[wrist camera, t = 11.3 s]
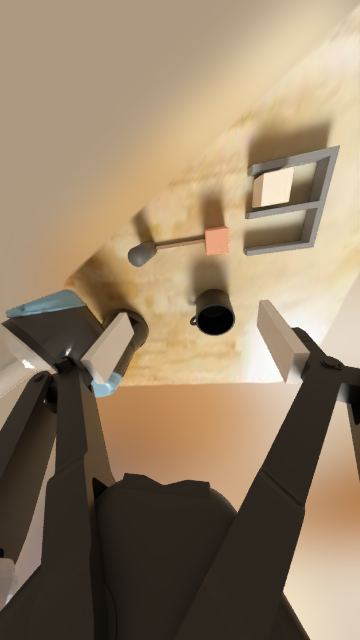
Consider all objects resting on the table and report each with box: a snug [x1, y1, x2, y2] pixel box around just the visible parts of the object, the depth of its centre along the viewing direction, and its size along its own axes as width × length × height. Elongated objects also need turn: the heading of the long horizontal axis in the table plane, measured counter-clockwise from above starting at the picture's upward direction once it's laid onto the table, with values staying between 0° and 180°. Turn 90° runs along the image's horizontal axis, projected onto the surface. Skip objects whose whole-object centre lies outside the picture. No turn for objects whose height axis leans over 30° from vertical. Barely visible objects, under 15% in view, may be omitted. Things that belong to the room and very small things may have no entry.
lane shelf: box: [244, 145, 340, 256], centre depth 32 cm, size 13×15×4 cm
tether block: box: [128, 226, 229, 267], centre depth 35 cm, size 20×4×10 cm, turn 99°
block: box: [252, 167, 294, 208], centre depth 30 cm, size 4×4×6 cm
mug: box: [190, 289, 235, 336], centre depth 43 cm, size 9×12×9 cm
